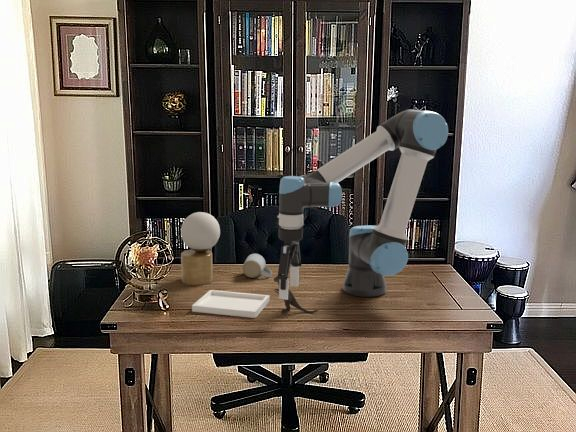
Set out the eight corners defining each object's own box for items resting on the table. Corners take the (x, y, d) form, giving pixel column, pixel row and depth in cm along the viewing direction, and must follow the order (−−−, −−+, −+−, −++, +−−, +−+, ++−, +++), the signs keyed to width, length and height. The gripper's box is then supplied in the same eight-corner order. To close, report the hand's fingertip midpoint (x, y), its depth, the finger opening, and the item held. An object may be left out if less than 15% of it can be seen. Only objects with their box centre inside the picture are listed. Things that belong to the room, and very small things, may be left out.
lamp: (198, 271, 245) (197, 207, 240) (228, 277, 238) (227, 211, 232) (172, 281, 232) (170, 214, 227) (202, 288, 225) (201, 218, 220)
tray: (269, 301, 212) (269, 295, 212) (255, 318, 197) (255, 311, 197) (210, 295, 217) (210, 289, 217) (192, 311, 202) (191, 305, 202)
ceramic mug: (241, 278, 236) (242, 258, 235) (245, 271, 244) (246, 252, 243) (270, 280, 235) (270, 260, 233) (273, 273, 243) (273, 254, 241)
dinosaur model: (273, 274, 202) (321, 278, 201) (271, 308, 205) (318, 312, 204) (273, 278, 198) (321, 282, 197) (270, 313, 201) (318, 317, 200)
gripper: (288, 217, 209) (287, 279, 214) (267, 234, 186) (266, 303, 190) (311, 219, 208) (309, 281, 212) (292, 236, 184) (290, 306, 188)
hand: (289, 292), depth 201 cm, fingers open, 13 cm apart
